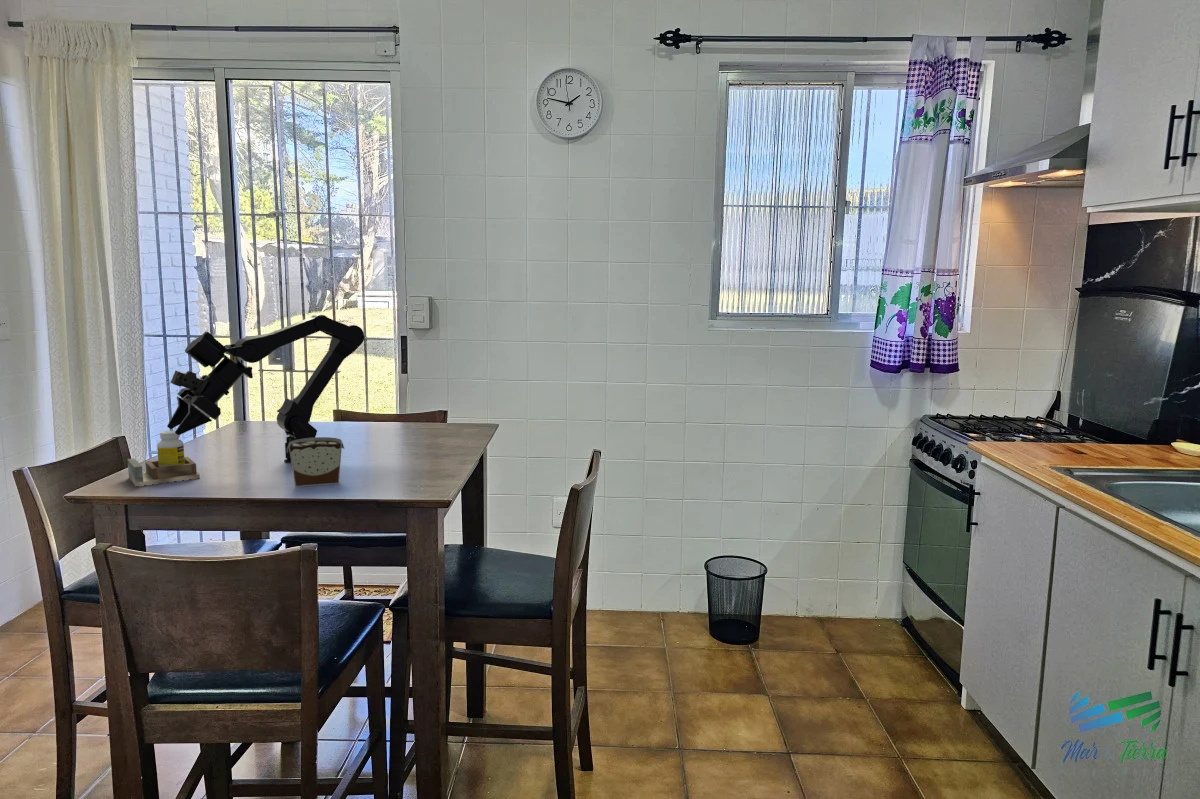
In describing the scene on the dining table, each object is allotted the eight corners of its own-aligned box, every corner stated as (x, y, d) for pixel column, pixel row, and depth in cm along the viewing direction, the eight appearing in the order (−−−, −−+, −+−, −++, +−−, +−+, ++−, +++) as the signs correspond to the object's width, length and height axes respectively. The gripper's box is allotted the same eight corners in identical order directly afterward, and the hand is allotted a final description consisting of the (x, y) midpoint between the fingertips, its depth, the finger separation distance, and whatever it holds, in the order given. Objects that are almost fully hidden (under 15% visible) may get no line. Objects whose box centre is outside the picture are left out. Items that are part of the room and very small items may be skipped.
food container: (344, 476, 186) (342, 435, 184) (345, 483, 180) (344, 440, 179) (288, 481, 181) (286, 438, 180) (288, 487, 176) (286, 443, 174)
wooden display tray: (190, 470, 190) (189, 452, 190) (199, 478, 183) (198, 459, 182) (128, 477, 182) (127, 459, 182) (135, 486, 175) (134, 467, 174)
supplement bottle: (182, 474, 182) (179, 433, 180) (156, 476, 180) (153, 434, 179) (187, 469, 187) (184, 429, 185) (162, 470, 185) (159, 430, 184)
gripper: (184, 354, 190) (135, 404, 185) (201, 361, 176) (149, 414, 171) (221, 384, 196) (175, 432, 191) (241, 393, 182) (192, 445, 177)
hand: (172, 430), depth 182 cm, fingers open, 9 cm apart
